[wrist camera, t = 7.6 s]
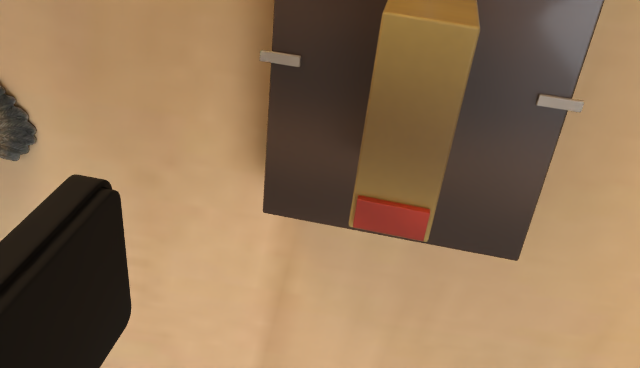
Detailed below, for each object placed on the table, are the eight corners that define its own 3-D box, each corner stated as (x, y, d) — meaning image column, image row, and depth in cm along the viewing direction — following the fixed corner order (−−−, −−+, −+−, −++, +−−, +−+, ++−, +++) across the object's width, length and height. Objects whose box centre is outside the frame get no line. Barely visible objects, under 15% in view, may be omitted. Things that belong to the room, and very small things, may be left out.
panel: (294, -165, 20) (269, -163, 18) (631, -125, 19) (660, -117, 16) (273, 175, 27) (252, 213, 24) (520, 220, 26) (527, 266, 23)
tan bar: (397, -27, 19) (381, 14, 15) (476, -15, 19) (481, 30, 15) (366, 158, 22) (346, 232, 18) (432, 170, 22) (427, 248, 18)
